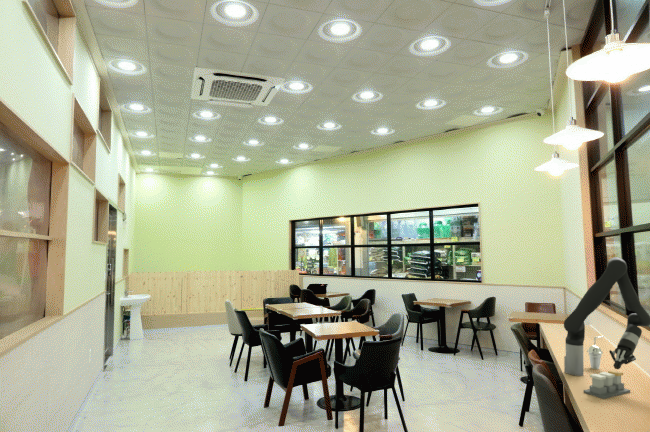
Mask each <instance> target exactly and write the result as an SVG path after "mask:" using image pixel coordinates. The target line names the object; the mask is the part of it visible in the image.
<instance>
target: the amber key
mask: <svg viewBox="0 0 650 432" xmlns="http://www.w3.org/2000/svg"><path fill="white" fill-rule="evenodd" d="M607 373H611V374H615V377H613V383H614V384H621V383H622V376H624V372H622V371H619V370H616V369H615V370H614V369H613V370H608V371H607Z"/></svg>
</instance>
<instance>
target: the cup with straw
mask: <svg viewBox="0 0 650 432" xmlns="http://www.w3.org/2000/svg"><path fill="white" fill-rule="evenodd" d="M604 337H605V336H604V335H602V336H601V335H600V336H595V337H593V342H594V344H593V345H590V346H589V347H588V349H587V351H586V352H588V356H589V364H590V365H589V366H590V368H591V369H593V370H600V367H601V360H602V359H601V358H602V355H603V354H604V353H603V350H602V349H601V347H599V346H597V344H596V340H597V339H598V338H604Z"/></svg>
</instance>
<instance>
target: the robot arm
mask: <svg viewBox="0 0 650 432" xmlns="http://www.w3.org/2000/svg"><path fill="white" fill-rule="evenodd" d="M616 283H617V286H618V288H619V291H620V294H621V295H620V296H621V297H622V300H623V302H624V305H625V307H626V309H627V310H628V311H632V312H634V313H630V314H629V315H628V317H627V322H626V329H625V331H624V333H623V334H622V335H621V337H620V339H619V342H618V344H617V347H616V348H615V349H614V350H611V349H609V350H608V352H609V354H610V356H611V359H612V360H613V362H614V363H613V368H614V369H615V370H620V369H621V367H622V365H628V364H630V363H632V362H634V361H636V359H637V358H636V356H635V355H634V352H635V350H636V348H637V346H638V344H639V341H640V338H641V336H642V333H643V331H642V329H641V328H640V327H649V326H650V314H649V313H648V311H646V309H645V308H644V306H643V305H642V303H641V301H640V299H639V296H638V294H637V292H636V290H635V289H634V286H633V284H632V282H631V279H630V277H629V274H628V265H627V261H625V260H624V259H623V258H621V257H617V256H616V257H615V256H614V257H611V258H610V259H609V260H608V261H607V263H606V268H605V270H604V272H603V273H602V275H601V276H600V277H599V279H597V280H596V281H595V282H594V283H593V284H592V285H590V287H589V288H588V289H587V291H586V292H585V293H584V295H583V297H582V298H581V300H580V301H579V302H578V304H577V306H576V307H575V309H574V310H573V311H572V312H571V313H570V314H569V316H567V317H566V318H565V320H564V321H563V328H564V330H565V331H566V332H567V335H566V337H565V355H564V358H563V359H564V362H563V363H564V364H563V367H564V369H563V370H564V373H565V374H568V375H572V376H578V377H581V376H584V372H585V371H584V370H585V369H584V341H585V334H586V332H585V331H586V329H585V328H586V327H585V321H586V320H587V318H588V316H590V315H591V314H592V313H594V311H596V310H597V309H598V308H599V307H600V306H601V304H602V303H603V302H604V300H605V299H606V298H607V296H608V295H609V293H610V292H611V289H612V288H613V287H614V286H615V284H616Z"/></svg>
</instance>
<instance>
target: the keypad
mask: <svg viewBox="0 0 650 432" xmlns="http://www.w3.org/2000/svg"><path fill="white" fill-rule="evenodd" d="M583 392H584V394H586V395H588V396H589V395H590V396H593V397H596V398H598V399H599V398H600V399H602V400H606V399H609V398H613V397H617V396H622V395H626V394H630V393H631V389H627V388H625V383H624V382H621V384H614V383H613V386H606V385H604V388H596V387H593V386H592V384H590V385H589V388H587V389H583Z"/></svg>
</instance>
